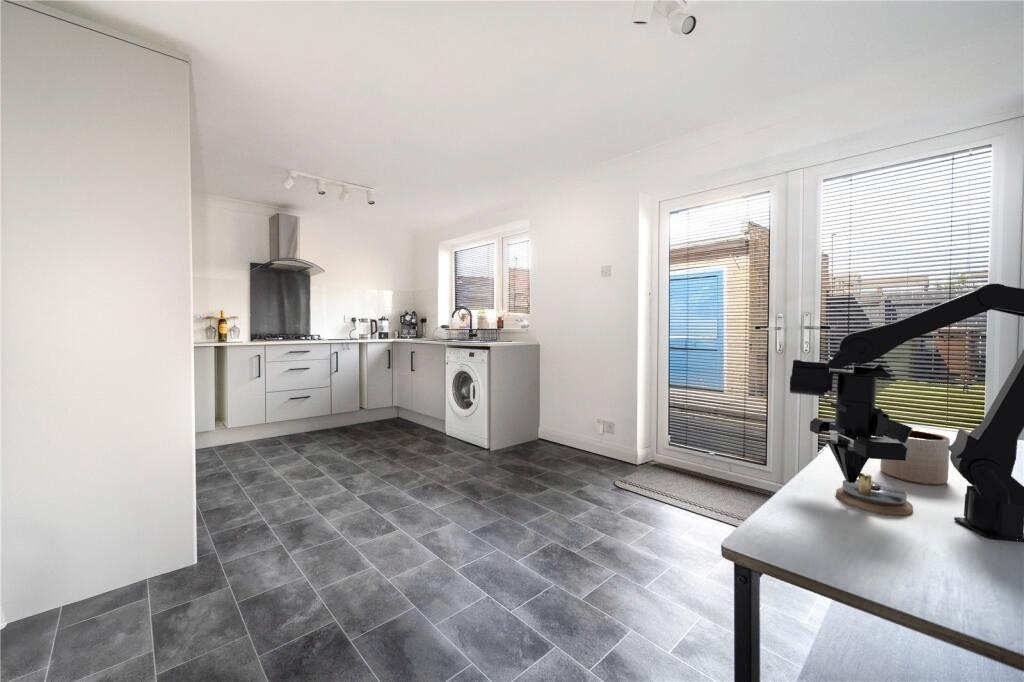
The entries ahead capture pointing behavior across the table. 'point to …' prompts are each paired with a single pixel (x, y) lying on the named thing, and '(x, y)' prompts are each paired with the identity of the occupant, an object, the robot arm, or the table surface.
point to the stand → (875, 505)
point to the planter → (921, 459)
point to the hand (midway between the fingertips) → (850, 482)
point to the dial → (874, 491)
